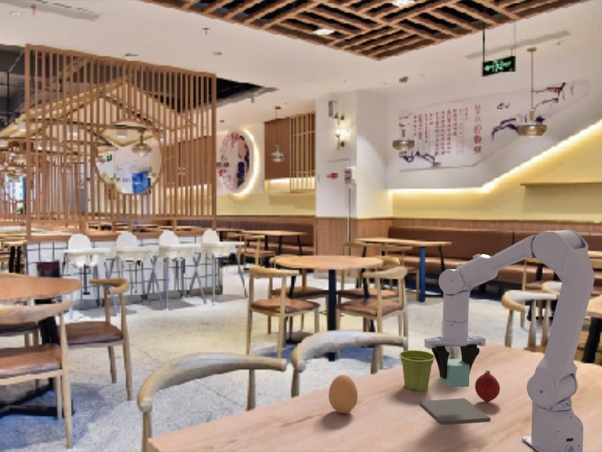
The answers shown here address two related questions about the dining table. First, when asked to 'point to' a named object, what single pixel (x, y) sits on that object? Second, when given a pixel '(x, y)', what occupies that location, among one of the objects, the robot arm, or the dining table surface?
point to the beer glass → (452, 349)
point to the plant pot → (416, 368)
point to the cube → (456, 374)
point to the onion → (487, 387)
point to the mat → (454, 411)
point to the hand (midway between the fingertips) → (454, 376)
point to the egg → (343, 394)
